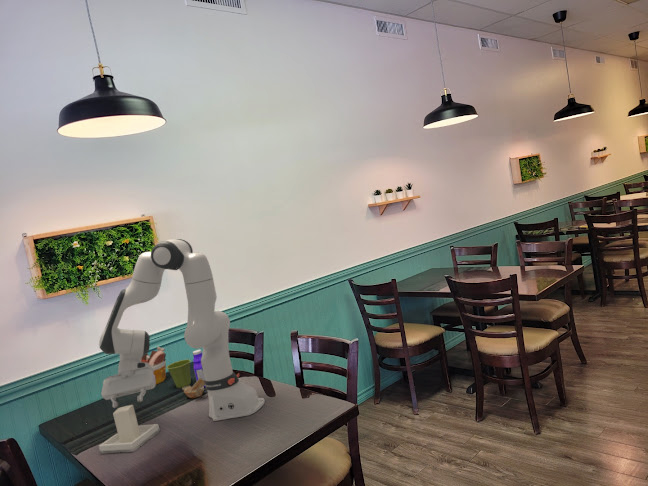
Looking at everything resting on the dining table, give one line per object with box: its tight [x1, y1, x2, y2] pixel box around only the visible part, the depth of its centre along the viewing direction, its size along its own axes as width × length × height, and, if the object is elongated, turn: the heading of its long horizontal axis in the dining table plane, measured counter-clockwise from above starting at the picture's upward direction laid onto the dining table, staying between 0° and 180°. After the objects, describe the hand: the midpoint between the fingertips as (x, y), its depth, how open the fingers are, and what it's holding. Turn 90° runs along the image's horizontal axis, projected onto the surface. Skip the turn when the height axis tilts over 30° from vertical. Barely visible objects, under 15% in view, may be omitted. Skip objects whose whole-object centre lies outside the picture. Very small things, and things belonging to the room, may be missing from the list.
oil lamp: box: [181, 378, 205, 399], centre depth 221 cm, size 9×21×10 cm, turn 39°
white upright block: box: [112, 404, 140, 443], centre depth 182 cm, size 6×6×12 cm
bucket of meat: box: [141, 346, 167, 386], centre depth 258 cm, size 20×16×20 cm
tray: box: [98, 423, 161, 455], centre depth 182 cm, size 15×15×3 cm
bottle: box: [192, 349, 206, 388], centre depth 233 cm, size 7×6×17 cm
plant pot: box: [166, 359, 192, 389], centre depth 242 cm, size 12×12×11 cm
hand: (127, 403), depth 186 cm, fingers open, 8 cm apart
